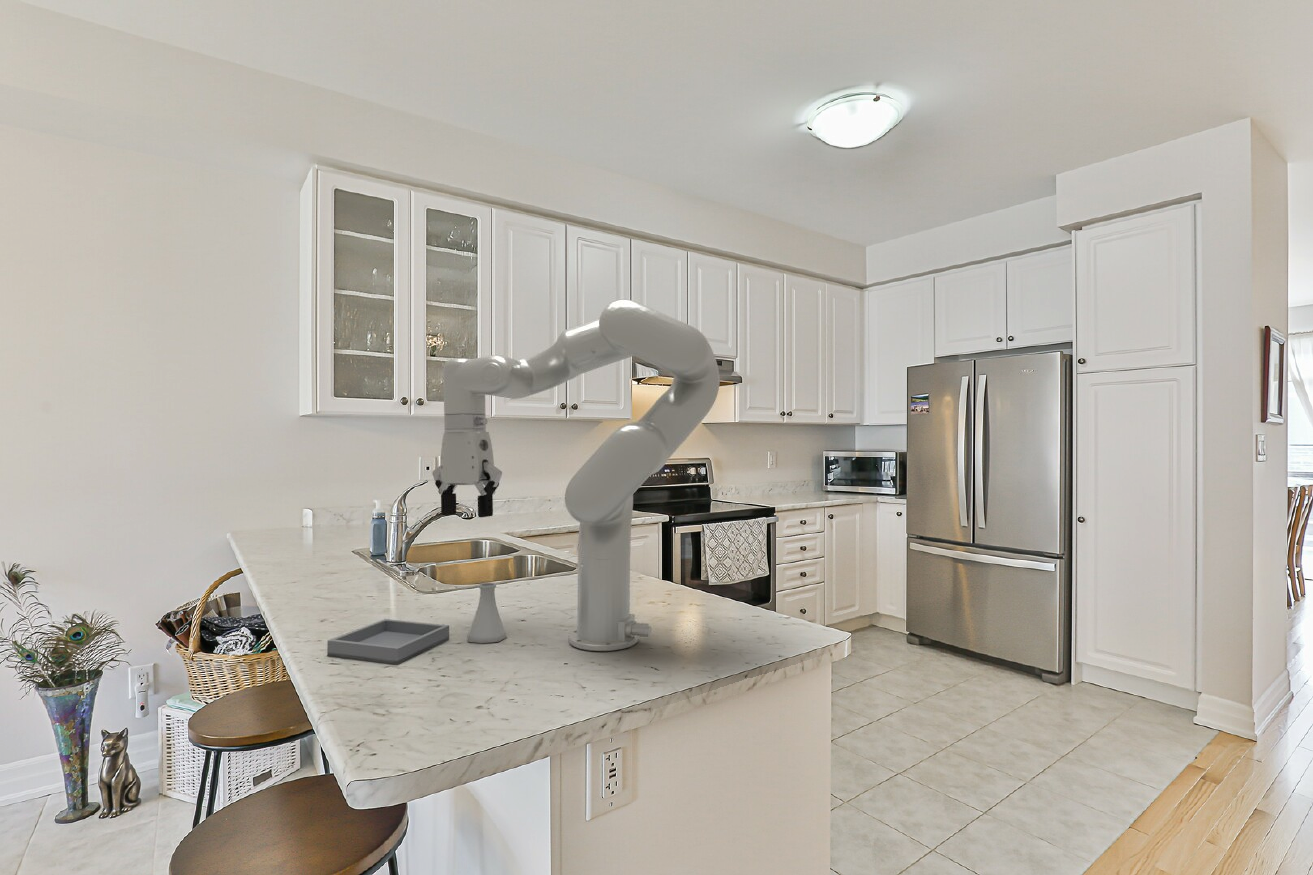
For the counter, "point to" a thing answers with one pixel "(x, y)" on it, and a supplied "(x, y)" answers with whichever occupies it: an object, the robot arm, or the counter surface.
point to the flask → (487, 618)
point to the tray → (388, 641)
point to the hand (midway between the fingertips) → (466, 515)
